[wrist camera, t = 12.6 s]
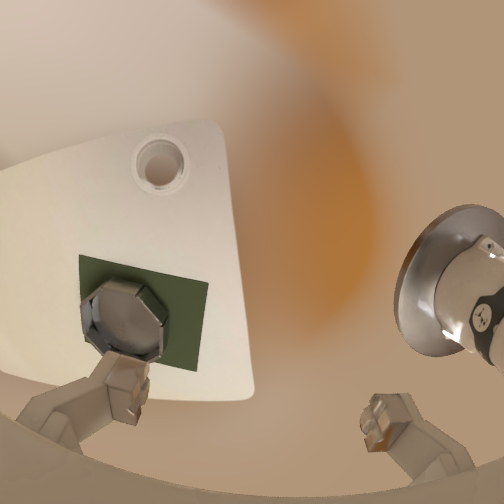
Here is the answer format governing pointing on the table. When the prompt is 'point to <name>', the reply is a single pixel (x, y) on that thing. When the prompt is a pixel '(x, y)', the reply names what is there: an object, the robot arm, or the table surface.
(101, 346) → the octagonal skillet
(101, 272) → the mat
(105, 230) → the table surface
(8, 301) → the table surface
